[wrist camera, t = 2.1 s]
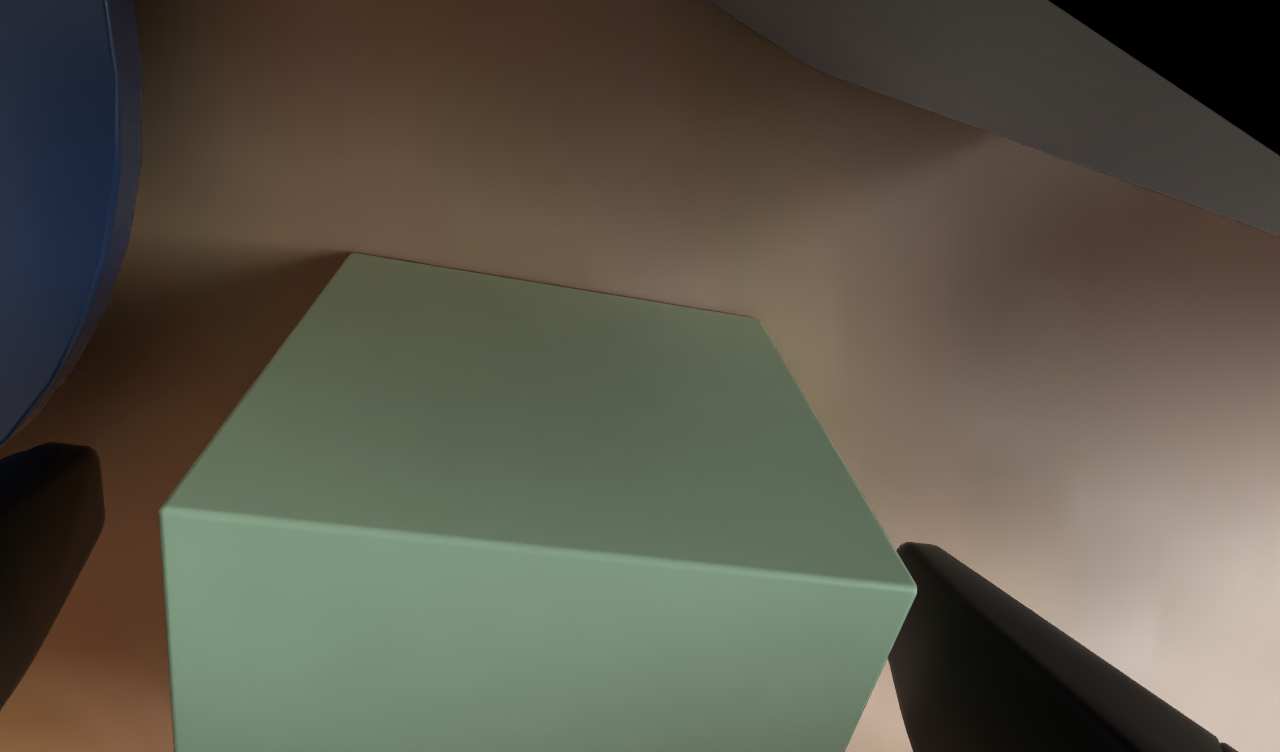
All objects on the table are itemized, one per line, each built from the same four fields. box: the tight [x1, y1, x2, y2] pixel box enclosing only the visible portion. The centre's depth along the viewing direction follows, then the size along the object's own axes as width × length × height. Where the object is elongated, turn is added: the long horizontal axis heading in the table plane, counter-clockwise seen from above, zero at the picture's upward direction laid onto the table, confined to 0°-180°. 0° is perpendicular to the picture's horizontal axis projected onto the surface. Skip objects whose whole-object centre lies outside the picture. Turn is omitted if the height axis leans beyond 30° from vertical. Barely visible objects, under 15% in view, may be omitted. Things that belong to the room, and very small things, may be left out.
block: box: [159, 253, 917, 752], centre depth 8 cm, size 5×5×5 cm
